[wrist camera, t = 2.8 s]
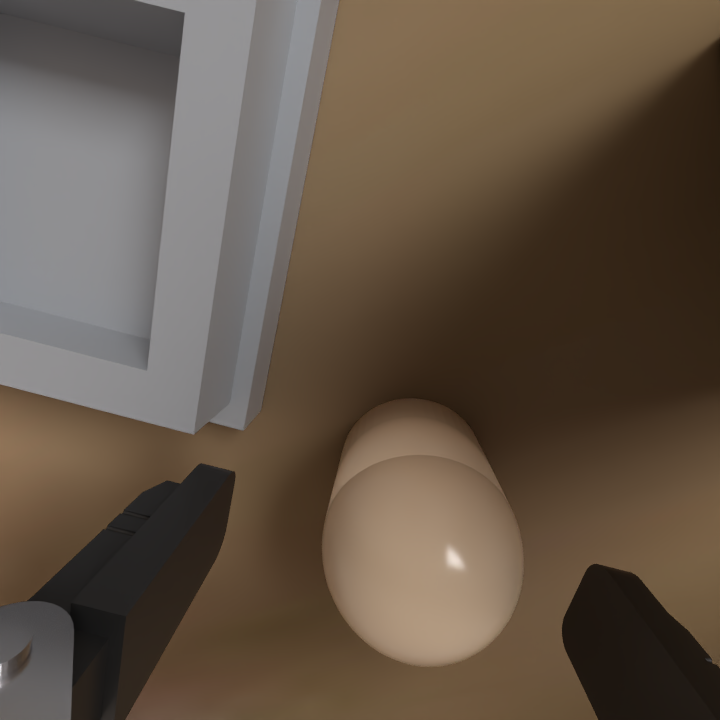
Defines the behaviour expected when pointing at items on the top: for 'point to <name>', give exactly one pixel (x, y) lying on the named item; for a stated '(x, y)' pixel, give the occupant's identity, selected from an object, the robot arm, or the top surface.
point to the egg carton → (152, 197)
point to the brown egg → (420, 537)
